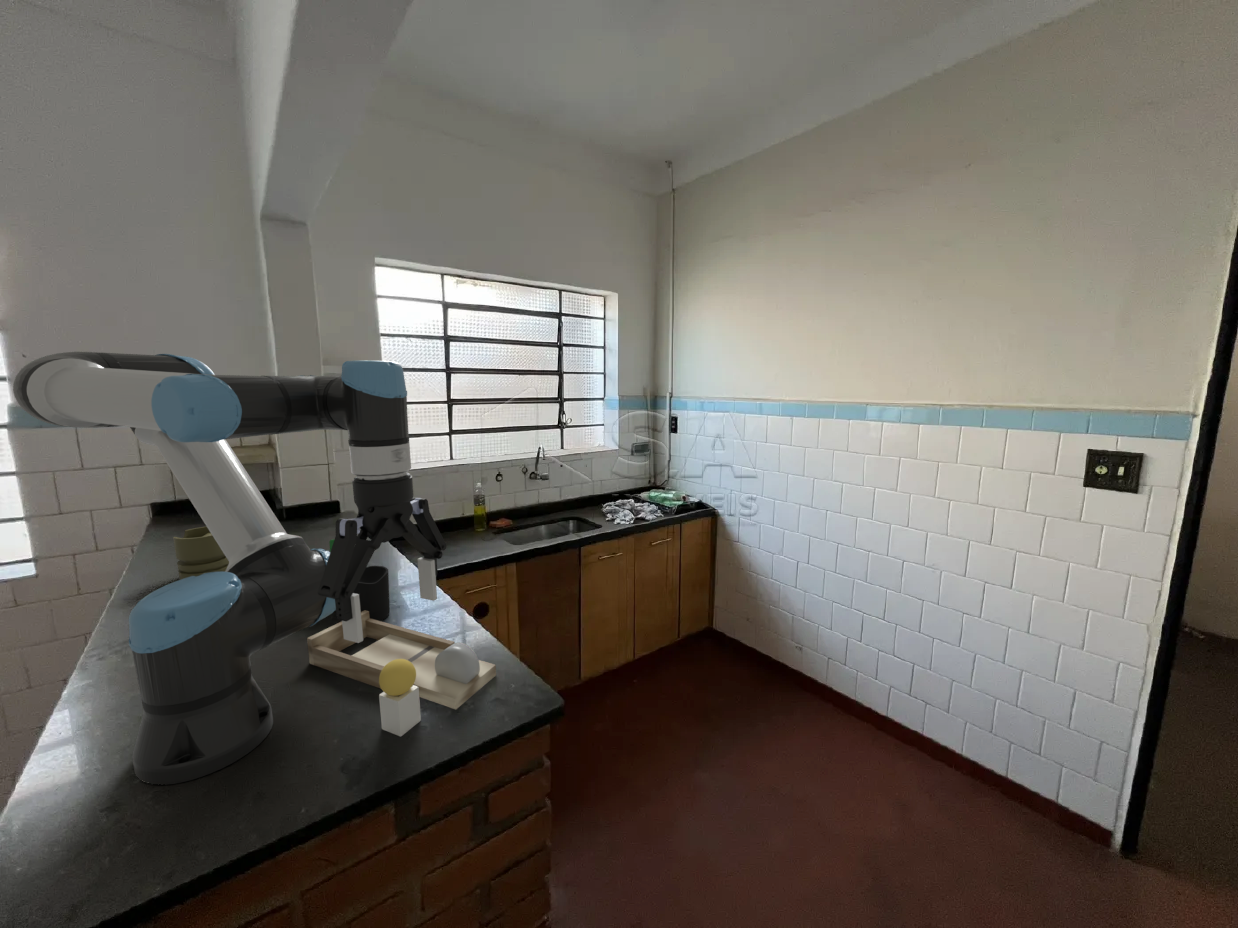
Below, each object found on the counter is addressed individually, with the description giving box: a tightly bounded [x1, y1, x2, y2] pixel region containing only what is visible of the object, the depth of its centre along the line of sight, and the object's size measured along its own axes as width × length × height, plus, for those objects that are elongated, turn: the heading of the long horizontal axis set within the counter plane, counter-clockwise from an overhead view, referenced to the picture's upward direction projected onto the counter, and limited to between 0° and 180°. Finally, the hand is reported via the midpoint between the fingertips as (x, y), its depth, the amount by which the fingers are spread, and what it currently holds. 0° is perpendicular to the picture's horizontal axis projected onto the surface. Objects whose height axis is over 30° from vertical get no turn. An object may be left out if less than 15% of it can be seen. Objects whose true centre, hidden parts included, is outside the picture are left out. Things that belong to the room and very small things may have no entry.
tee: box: [378, 685, 422, 737], centre depth 73 cm, size 4×4×6 cm
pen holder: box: [345, 565, 390, 622], centre depth 106 cm, size 9×9×10 cm
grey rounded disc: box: [435, 642, 480, 684], centre depth 83 cm, size 3×7×7 cm, turn 66°
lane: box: [306, 610, 497, 710], centre depth 88 cm, size 12×33×5 cm, turn 66°
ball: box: [379, 659, 416, 696], centre depth 73 cm, size 5×5×5 cm
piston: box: [173, 526, 229, 580], centre depth 129 cm, size 11×12×11 cm
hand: (394, 617), depth 72 cm, fingers open, 13 cm apart
